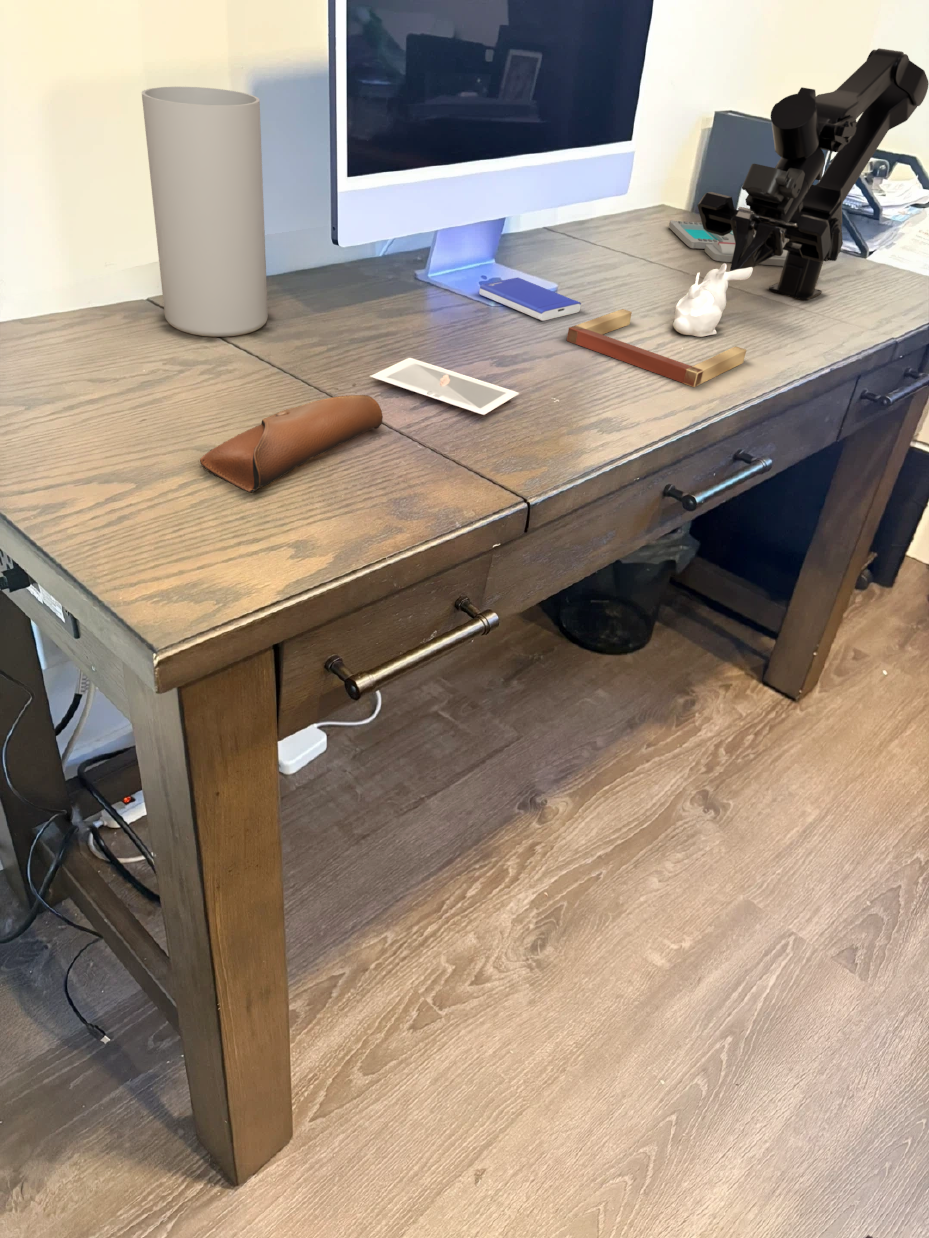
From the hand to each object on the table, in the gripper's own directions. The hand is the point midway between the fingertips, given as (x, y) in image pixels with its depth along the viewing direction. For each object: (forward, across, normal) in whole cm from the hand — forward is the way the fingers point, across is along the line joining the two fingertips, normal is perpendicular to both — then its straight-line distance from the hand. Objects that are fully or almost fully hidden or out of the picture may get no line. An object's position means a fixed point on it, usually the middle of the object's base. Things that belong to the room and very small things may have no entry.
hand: (732, 276), depth 129 cm
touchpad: (+41, -8, -31) cm, 52 cm away
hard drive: (+17, -22, -7) cm, 28 cm away
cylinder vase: (+45, -41, -35) cm, 70 cm away
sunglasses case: (+57, -8, -46) cm, 73 cm away
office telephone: (-26, -20, +35) cm, 48 cm away
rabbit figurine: (+8, 0, +2) cm, 8 cm away
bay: (+18, 0, -8) cm, 19 cm away
